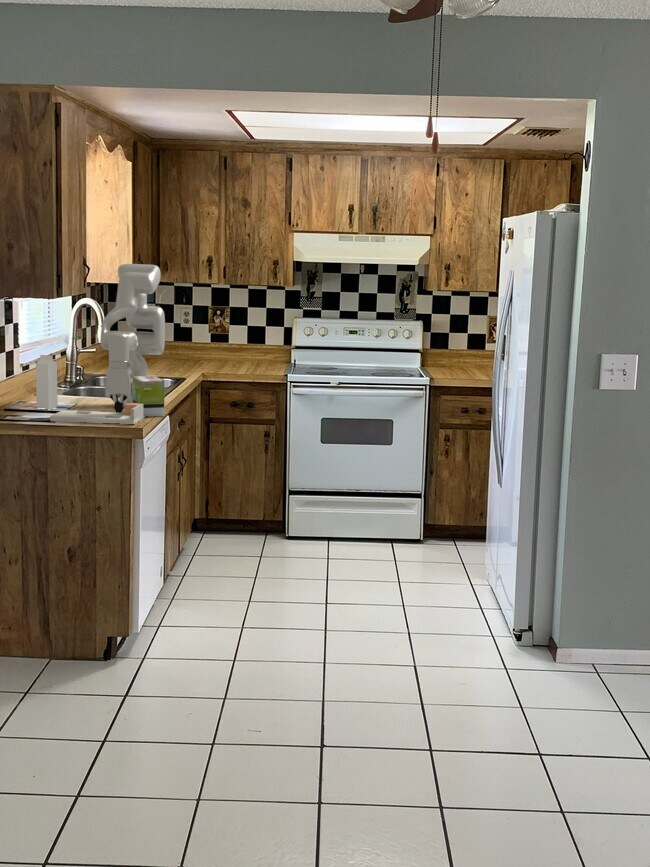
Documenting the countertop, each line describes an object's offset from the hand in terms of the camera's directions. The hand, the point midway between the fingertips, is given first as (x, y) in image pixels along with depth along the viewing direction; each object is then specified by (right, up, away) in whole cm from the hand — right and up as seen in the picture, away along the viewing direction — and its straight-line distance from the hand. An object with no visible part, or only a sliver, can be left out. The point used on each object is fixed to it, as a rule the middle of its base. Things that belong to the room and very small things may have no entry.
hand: (118, 412), depth 370 cm
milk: (-33, +2, +19) cm, 39 cm away
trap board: (-8, -3, -3) cm, 9 cm away
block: (+5, -1, +2) cm, 5 cm away
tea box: (+8, -1, +16) cm, 18 cm away
